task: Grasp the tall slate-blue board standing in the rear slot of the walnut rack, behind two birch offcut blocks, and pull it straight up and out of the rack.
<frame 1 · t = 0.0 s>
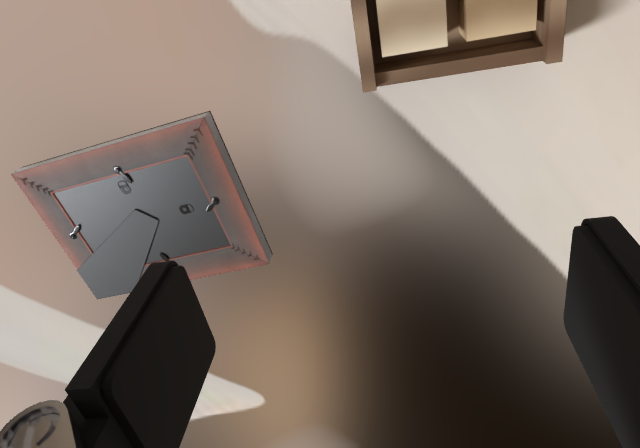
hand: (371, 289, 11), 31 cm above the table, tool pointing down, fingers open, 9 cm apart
picture frame: (153, 208, 50), on the table
offcut 1: (408, 6, 35), point 1 cm above the table, touching rack
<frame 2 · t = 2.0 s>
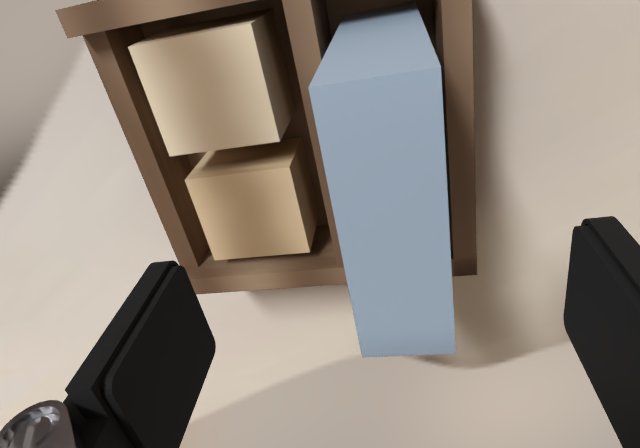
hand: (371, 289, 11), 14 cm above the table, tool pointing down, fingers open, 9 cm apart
panel: (390, 110, 22), point 1 cm above the table, touching rack
offcut 1: (234, 70, 22), point 1 cm above the table, touching rack
rack: (305, 116, 24), on the table
offcut 2: (265, 183, 25), point 1 cm above the table, touching rack
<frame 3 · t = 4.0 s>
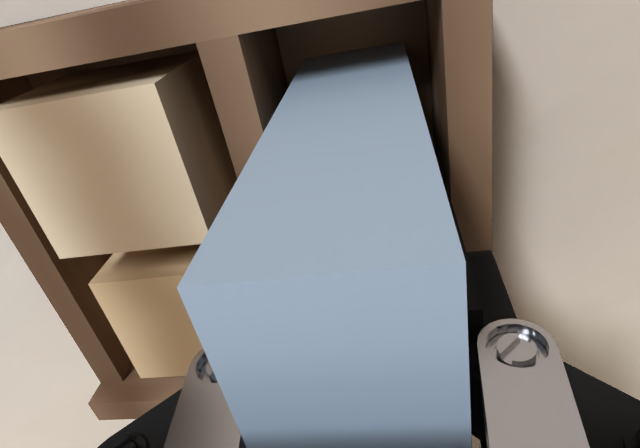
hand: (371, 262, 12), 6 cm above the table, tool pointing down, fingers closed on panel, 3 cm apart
panel: (371, 182, 16), point 1 cm above the table, touching gripper, rack
offcut 1: (158, 130, 16), point 1 cm above the table, touching rack
rack: (260, 184, 18), on the table
offcut 2: (211, 268, 19), point 1 cm above the table, touching rack
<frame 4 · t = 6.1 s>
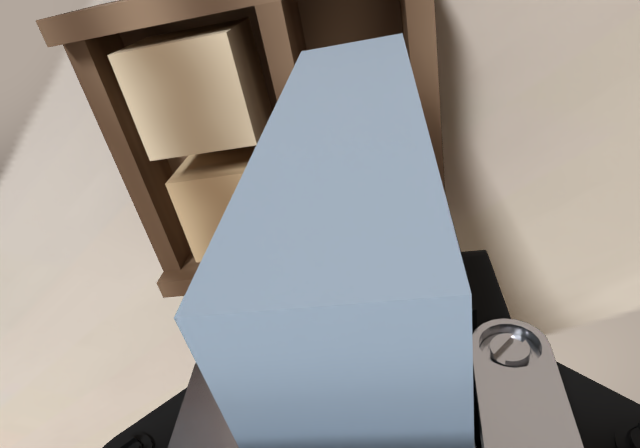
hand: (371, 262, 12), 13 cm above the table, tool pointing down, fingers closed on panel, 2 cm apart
panel: (370, 176, 16), point 9 cm above the table, touching gripper
offcut 1: (212, 77, 23), point 1 cm above the table, touching rack
rack: (283, 121, 24), on the table
offcut 2: (245, 186, 26), point 1 cm above the table, touching rack
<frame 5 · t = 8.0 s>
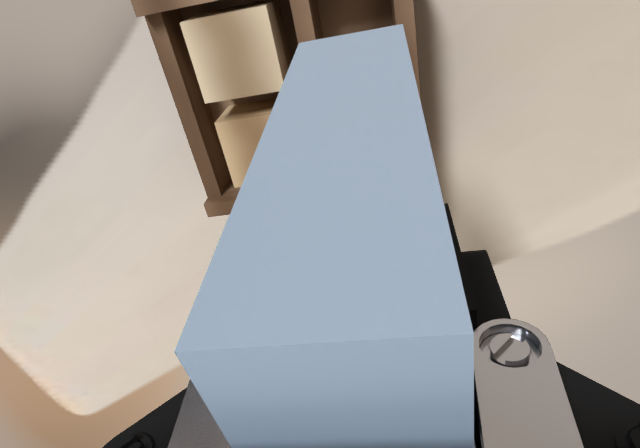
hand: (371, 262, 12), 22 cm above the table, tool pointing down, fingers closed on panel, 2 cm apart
panel: (370, 168, 16), point 17 cm above the table, tilted 6°, touching gripper
offcut 1: (248, 44, 30), point 1 cm above the table, touching rack
rack: (300, 79, 32), on the table
offcut 2: (270, 132, 33), point 1 cm above the table, touching rack
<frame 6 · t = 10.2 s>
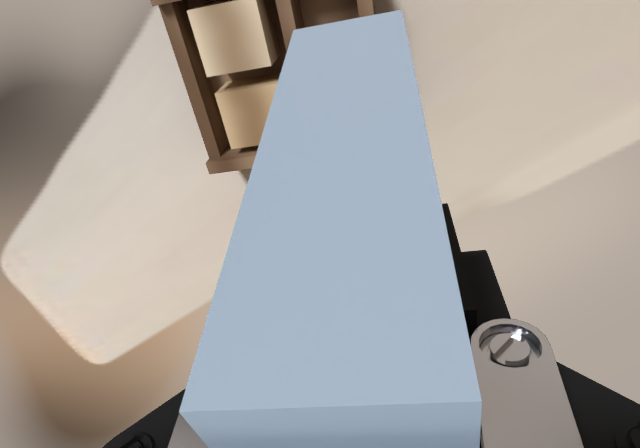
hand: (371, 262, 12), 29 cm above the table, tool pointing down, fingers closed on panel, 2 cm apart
panel: (368, 156, 16), point 25 cm above the table, tilted 10°, touching gripper
offcut 1: (243, 29, 36), point 1 cm above the table, touching rack
rack: (286, 59, 38), on the table
offcut 2: (262, 104, 39), point 1 cm above the table, touching rack
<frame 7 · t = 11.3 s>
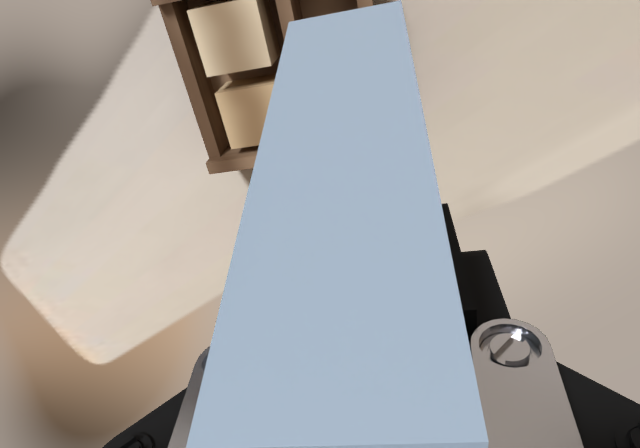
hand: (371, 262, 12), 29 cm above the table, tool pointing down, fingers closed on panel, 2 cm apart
panel: (366, 149, 15), point 25 cm above the table, tilted 14°, touching gripper
offcut 1: (243, 29, 36), point 1 cm above the table, touching rack
rack: (286, 59, 38), on the table
offcut 2: (262, 104, 39), point 1 cm above the table, touching rack
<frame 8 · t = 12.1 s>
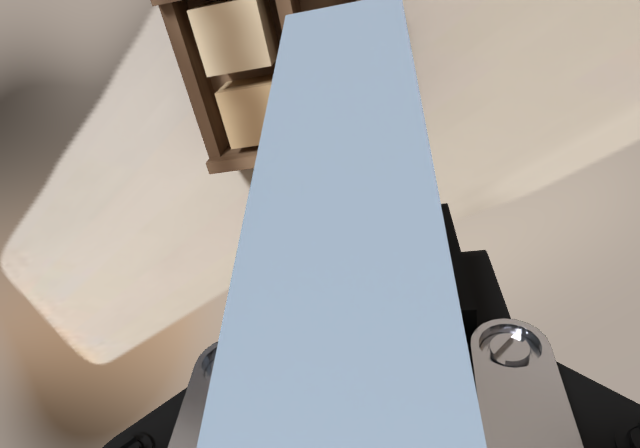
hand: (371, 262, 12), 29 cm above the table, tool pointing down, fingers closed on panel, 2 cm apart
panel: (365, 142, 15), point 25 cm above the table, tilted 16°, touching gripper
offcut 1: (243, 29, 36), point 1 cm above the table, touching rack
rack: (286, 59, 38), on the table
offcut 2: (262, 104, 39), point 1 cm above the table, touching rack
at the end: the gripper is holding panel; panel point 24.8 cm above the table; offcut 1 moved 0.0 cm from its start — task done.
